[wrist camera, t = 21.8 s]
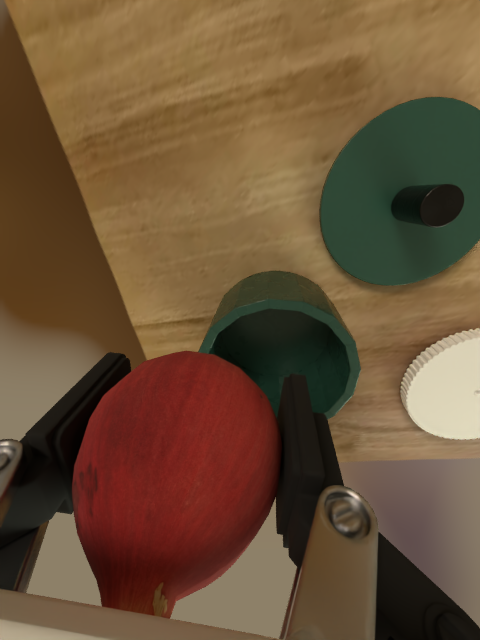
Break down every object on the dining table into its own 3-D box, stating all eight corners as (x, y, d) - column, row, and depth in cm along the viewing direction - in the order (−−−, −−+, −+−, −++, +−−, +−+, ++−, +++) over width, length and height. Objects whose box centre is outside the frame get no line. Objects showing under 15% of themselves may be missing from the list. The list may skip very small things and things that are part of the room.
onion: (182, 433, 13) (80, 712, 6) (120, 338, 11) (-139, 590, 4) (295, 408, 12) (332, 730, 5) (248, 293, 10) (189, 558, 3)
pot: (216, 265, 28) (196, 292, 20) (348, 276, 27) (379, 308, 20) (214, 371, 34) (198, 423, 26) (323, 383, 33) (339, 440, 25)
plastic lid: (532, 409, 32) (552, 426, 29) (405, 432, 35) (414, 449, 33) (536, 306, 27) (561, 316, 24) (387, 344, 30) (397, 356, 28)
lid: (336, 98, 21) (359, 64, 16) (530, 105, 20) (629, 71, 15) (306, 276, 28) (316, 296, 22) (454, 287, 27) (503, 312, 21)
